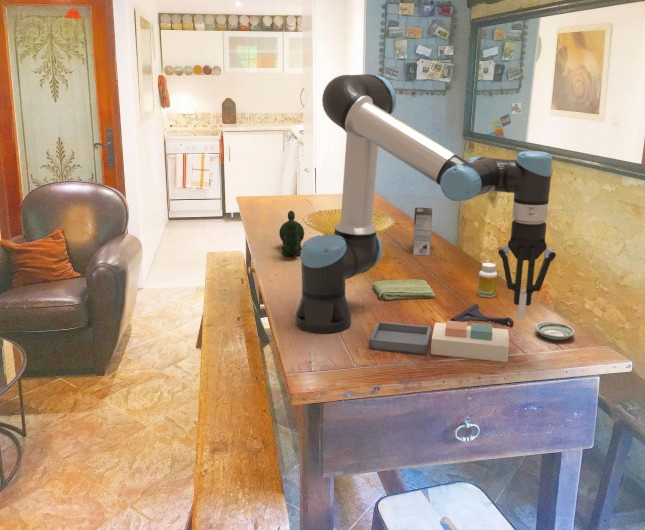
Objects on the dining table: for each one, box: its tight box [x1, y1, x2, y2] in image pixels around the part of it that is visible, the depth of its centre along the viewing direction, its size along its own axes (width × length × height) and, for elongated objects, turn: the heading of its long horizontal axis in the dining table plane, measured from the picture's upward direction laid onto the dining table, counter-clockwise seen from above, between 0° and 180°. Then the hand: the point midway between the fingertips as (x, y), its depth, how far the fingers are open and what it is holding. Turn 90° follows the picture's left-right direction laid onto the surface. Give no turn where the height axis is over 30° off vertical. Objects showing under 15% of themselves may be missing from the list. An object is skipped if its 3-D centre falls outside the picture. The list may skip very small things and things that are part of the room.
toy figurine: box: [278, 210, 305, 258], centre depth 235 cm, size 9×19×25 cm
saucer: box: [534, 321, 575, 341], centre depth 164 cm, size 10×10×2 cm
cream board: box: [430, 322, 510, 363], centre depth 156 cm, size 18×11×4 cm, turn 76°
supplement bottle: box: [477, 262, 498, 298], centre depth 193 cm, size 5×5×10 cm
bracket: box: [449, 303, 515, 328], centre depth 174 cm, size 14×15×3 cm
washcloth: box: [371, 278, 436, 301], centre depth 195 cm, size 13×18×3 cm
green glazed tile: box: [470, 322, 493, 340], centre depth 154 cm, size 5×5×2 cm
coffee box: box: [412, 207, 433, 256], centre depth 237 cm, size 9×6×16 cm
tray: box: [368, 321, 432, 356], centre depth 160 cm, size 14×12×2 cm
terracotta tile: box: [445, 320, 468, 338], centre depth 156 cm, size 5×5×2 cm
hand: (520, 317), depth 151 cm, fingers closed
